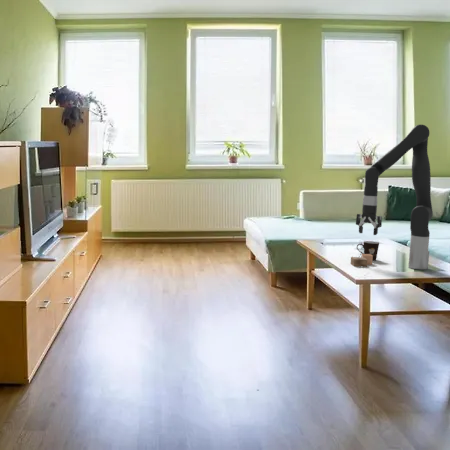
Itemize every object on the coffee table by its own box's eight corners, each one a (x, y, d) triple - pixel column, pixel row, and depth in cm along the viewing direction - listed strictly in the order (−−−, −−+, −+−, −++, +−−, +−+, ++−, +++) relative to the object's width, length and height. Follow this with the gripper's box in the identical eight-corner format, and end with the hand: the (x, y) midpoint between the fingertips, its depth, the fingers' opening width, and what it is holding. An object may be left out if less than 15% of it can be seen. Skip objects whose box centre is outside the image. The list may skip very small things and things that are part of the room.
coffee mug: (379, 259, 317) (381, 242, 316) (375, 261, 310) (376, 243, 309) (359, 257, 323) (360, 240, 322) (355, 259, 316) (356, 241, 314)
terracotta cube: (370, 263, 305) (370, 254, 304) (372, 264, 300) (372, 255, 299) (361, 262, 305) (361, 253, 304) (362, 264, 300) (363, 255, 299)
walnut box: (363, 264, 299) (364, 257, 299) (366, 267, 292) (367, 259, 292) (350, 264, 299) (351, 256, 299) (353, 266, 292) (354, 259, 292)
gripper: (385, 205, 297) (383, 235, 298) (361, 203, 306) (359, 232, 308) (378, 205, 291) (376, 236, 293) (354, 203, 301) (352, 233, 303)
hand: (367, 234), depth 301 cm, fingers open, 8 cm apart
